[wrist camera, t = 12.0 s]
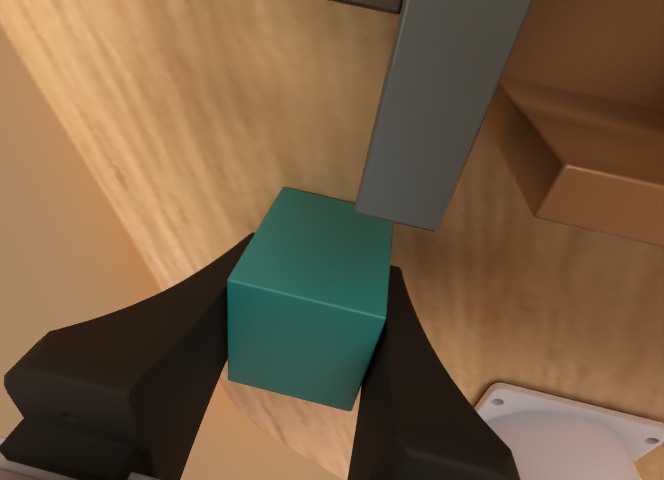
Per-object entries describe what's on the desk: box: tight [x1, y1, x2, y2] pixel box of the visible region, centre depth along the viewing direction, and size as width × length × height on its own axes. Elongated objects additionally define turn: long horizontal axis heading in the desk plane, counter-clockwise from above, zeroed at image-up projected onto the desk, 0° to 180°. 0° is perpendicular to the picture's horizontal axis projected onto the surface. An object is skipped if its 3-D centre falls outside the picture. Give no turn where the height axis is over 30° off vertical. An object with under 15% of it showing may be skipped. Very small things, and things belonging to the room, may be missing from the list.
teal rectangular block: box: [227, 187, 393, 411], centre depth 12 cm, size 4×4×5 cm
